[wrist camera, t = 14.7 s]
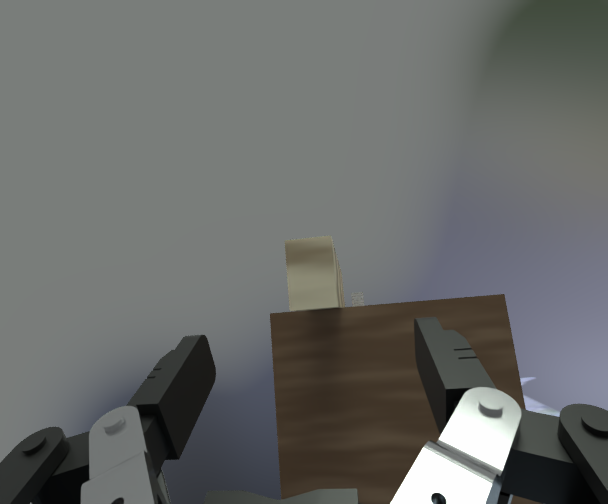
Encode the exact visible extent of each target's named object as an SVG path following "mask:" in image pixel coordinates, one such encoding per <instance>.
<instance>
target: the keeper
mask: <svg viewBox="0 0 608 504" xmlns="http://www.w3.org/2000/svg"><path fill="white" fill-rule="evenodd" d="M352 304H353V307H355V306H364V300H363V292H360V293H352ZM305 311H307V310H305Z"/></svg>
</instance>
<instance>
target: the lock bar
mask: <svg viewBox="0 0 608 504" xmlns="http://www.w3.org/2000/svg"><path fill="white" fill-rule="evenodd" d="M285 251H286V263H287V264H286V265H287V278H288V292H289V306H290V311H305V310H319V309H331V308H343V307H345V302H344V292H343V283H342V273H341V269H340V266H339V263H338V259H337V255H336V252H335V248H334V245H333V241H332V238H331V236H323V237H314V238H305V239H295V240H286V241H285Z"/></svg>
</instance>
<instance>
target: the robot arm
mask: <svg viewBox="0 0 608 504" xmlns="http://www.w3.org/2000/svg"><path fill="white" fill-rule="evenodd" d="M414 337H415V357H416V364H417V369H418V372H419V375H420V378H421V381H422V384H423V387H424V390H425V393H426V396H427V398H428V401H429V404H430V407H431V410H432V413H433V416H434V419H435V422H436V425H437V428H438V430H439V433H440V438H439V440H438V441H437V442H434V441H432V440H430V441H428V442H427V443H426V444H425V446H424V447H423V449H422V451H421V452H420V454H419V456H418V457H417V459H416V461H415V463H414V464H413V466H412V468H411V469H410V471H409V473H408V475H407V476H406V478H405V480H404V481H403V483H402V485H401V487H400V488H399V490H398V492H397V493H396V495H395V497H394V499H393V500H392V502H391V504H511V500H512V497H513V495H514V496H518V497H521V498H525V499H528V500H532V501H535V502H539V503H542V504H608V411H607V410H604V409H602V408H599V407H596V406H592V405H587V404H572V405H568V406H566V407H564V408H563V409H562V411H561V412H560V417H557V416H551V415H546V414H541V413H536V412H531V411H528V410H525V409H522V408H520V407H519V405H518V404H517V402H516V401H515V400H514V399H513V398H512V397H510V396H509V395H507V394H506V393H504V392H502V391H499V390H497V388H496V387H495V385H494V384H493V382H492V380H491V379H490V377H489V376H488V374H487V372H486V371H485V369H484V367H483V366H482V364H481V363H480V361H479V359H477V356H476V354H475V353H474V351H473V350H472V348H471V346H470V345H469V343H468V342H467V340H466V338H465V337H463V336H462V335H461V334H459V333H458V332H456V331H455V330H443V329H442V327H441V325H440V323H439V321H438V319H437V318H436V317H427V318H415V319H414ZM215 377H216V369H215V365H214V361H213V357H212V354H211V351H210V347H209V344H208V340H207V338H206V336H205V335H195V336H185V337H183V339H182V340H181V342H180V343H179V344H178V346H177V347H176V349H175V350H171V351H170V352H169V353H168V354H166V355H165V356H164V357H162V359H160V360H159V362H158V363H157V365H156V366H155V367H154V369H153V371H151V373H150V374H149V375H148V377H147V379H145V381H144V382H143V383H142V385H141V386H140V388H139V389H138V390H137V392H136V393H135V394H134V396H133V397H132V398H131V400H130V401H129V402H128V404H127V405H126V406H123V407H119V408H117V409H114V410H112V411H110V412H108V413H107V414H105V415H104V416H102V417H101V418H100V419H99V420H98V421H97V422H96V423H95V424H94V425H93V426H92V428H91V430H90V431H89V432H85V433H82V434H79V435H76V436H73V437H69V438H66V436H65V434H64V432H63V431H62V429H61V428H59V427H49V428H46V429H42V430H40V431H38V432H36V433H34V434H32V435H30V436H29V437H27V438H26V439H24V440H23V441H21V442H20V443H19V444H18V445H17V446H16V447H15V448H14V449H13V450H12V451H11V452H10V453H9V454H8V455H7V456H6V457H5V458H4V460H3V461H2V462H1V463H0V504H30V502H31V503H32V504H171V502H170V498H169V494H168V490H167V486H166V482H165V478H164V474H163V472H162V469H161V467H162V464H163V462H164V461H165V460H177V459H179V458H180V456H181V454H182V452H183V450H184V447H185V445H186V443H187V441H188V439H189V437H190V434H191V432H192V430H193V428H194V426H195V424H196V421H197V419H198V417H199V415H200V413H201V411H202V408H203V406H204V404H205V402H206V400H207V398H208V395H209V393H210V391H211V389H212V387H213V384H214V382H215ZM204 504H363V503H359V499H358V491H357V488H354V489H318V490H314V491H311V492H307V493H304V494H300V495H297V496H293V497H290V498H286V499H283V500H275V499H271V498H268V497H264V496H260V495H257V494H253V493H250V492H246V491H208V492H207V495H206V498H205V501H204Z"/></svg>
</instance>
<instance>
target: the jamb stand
mask: <svg viewBox="0 0 608 504" xmlns="http://www.w3.org/2000/svg"><path fill="white" fill-rule="evenodd" d="M427 317H436V318H437V319H438V321H439V323H440V325H441V327H442V329H443V330H455V331H456V332H458V333H459V334H461V335H462V336H463V337H465V338H466V340H467V342H468V343H469V345H470V346H471V348H472V350H473V351H474V353H475V354H476V356H477V359H479V361H480V363H481V364H482V366H483V367H484V369H485V371H486V372H487V374H488V376H489V377H490V379H491V380H492V382H493V384H494V385H495V387H496V388H497V390H499V391H502V392H504V393H506V394H507V395H509V396H510V397H512V398H513V399H514V400H515V401H516V402H517V404H518V405H519V407H520V408H522V409H525V403H524V398H523V393H522V387H521V382H520V377H519V371H518V366H517V360H516V355H515V349H514V344H513V339H512V333H511V328H510V322H509V317H508V312H507V306H506V301H505V295H504V294H501V295H489V296H476V297H464V298H453V299H441V300H428V301H416V302H404V303H392V304H380V305H368V306H355V307H343V308H331V309H319V310H307V311H295V312H283V313H271V314H270V322H271V338H272V353H273V369H274V370H273V371H274V386H275V402H276V418H277V436H278V452H279V466H280V467H279V468H280V484H281V500H283V499H286V498H290V497H293V496H297V495H300V494H304V493H307V492H311V491H314V490H318V489H354V488H357V491H358V499H359V503H363V504H391V502H392V500H393V499H394V497H395V495H396V493H397V492H398V490H399V488H400V487H401V485H402V483H403V481H404V480H405V478H406V476H407V475H408V473H409V471H410V469H411V468H412V466H413V464H414V463H415V461H416V459H417V457H418V456H419V454H420V452H421V451H422V449H423V447H424V446H425V444H426V443H427V442H428V441H430V440H432V441H434V442H437V441H438V440H439V438H440V433H439V430H438V428H437V425H436V422H435V419H434V416H433V413H432V410H431V407H430V404H429V401H428V398H427V396H426V393H425V390H424V387H423V384H422V381H421V378H420V375H419V372H418V369H417V364H416V357H415V337H414V319H415V318H427ZM525 410H526V409H525ZM511 504H542V503H539V502H535V501H532V500H528V499H525V498H521V497H518V496H514V495H513V497H512V500H511Z"/></svg>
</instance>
